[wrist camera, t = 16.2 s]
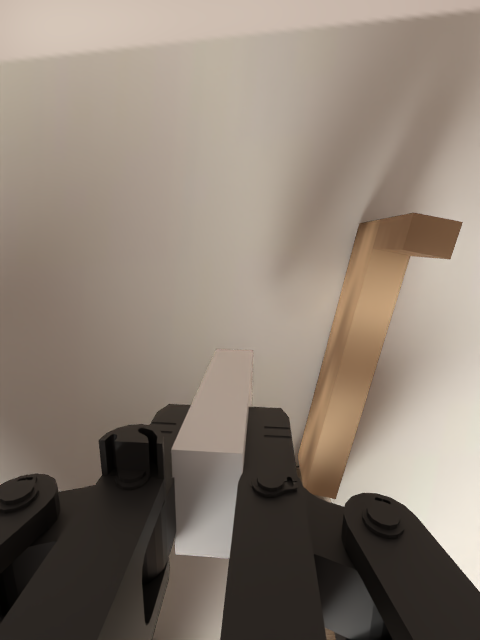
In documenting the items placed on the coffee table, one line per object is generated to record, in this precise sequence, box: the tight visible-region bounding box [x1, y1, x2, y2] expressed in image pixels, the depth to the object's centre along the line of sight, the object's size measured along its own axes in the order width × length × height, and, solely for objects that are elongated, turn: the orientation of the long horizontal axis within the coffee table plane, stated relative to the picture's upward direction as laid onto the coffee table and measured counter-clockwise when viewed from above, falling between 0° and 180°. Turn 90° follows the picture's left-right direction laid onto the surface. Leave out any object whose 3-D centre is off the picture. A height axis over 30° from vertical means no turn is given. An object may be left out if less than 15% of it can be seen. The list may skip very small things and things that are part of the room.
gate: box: [298, 213, 463, 499], centre depth 15 cm, size 14×2×6 cm, turn 169°
